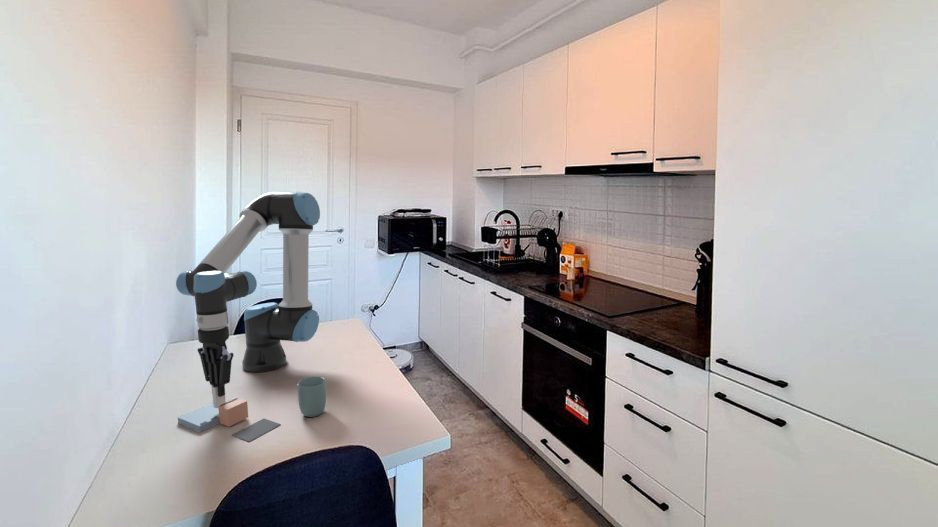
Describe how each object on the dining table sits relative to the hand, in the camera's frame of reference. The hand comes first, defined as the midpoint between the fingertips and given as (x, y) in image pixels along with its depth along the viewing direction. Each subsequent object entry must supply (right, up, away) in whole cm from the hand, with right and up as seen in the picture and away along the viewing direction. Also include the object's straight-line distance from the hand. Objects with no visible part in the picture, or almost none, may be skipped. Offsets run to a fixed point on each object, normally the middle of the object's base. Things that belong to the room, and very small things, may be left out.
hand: (219, 405), depth 129 cm
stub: (+5, -4, -2) cm, 7 cm away
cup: (+26, -3, +3) cm, 26 cm away
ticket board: (-3, -4, 0) cm, 5 cm away
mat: (+14, -5, -6) cm, 16 cm away
